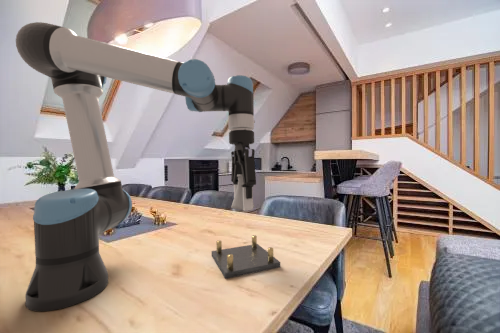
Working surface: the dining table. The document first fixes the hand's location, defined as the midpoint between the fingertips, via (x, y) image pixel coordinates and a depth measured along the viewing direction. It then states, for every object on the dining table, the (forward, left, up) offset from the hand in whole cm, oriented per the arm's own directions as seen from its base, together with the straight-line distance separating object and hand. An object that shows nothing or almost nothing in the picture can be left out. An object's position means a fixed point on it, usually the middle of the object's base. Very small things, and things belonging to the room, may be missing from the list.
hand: (243, 207), depth 69 cm
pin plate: (0, 0, -16) cm, 16 cm away
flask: (0, 0, 0) cm, 0 cm away
